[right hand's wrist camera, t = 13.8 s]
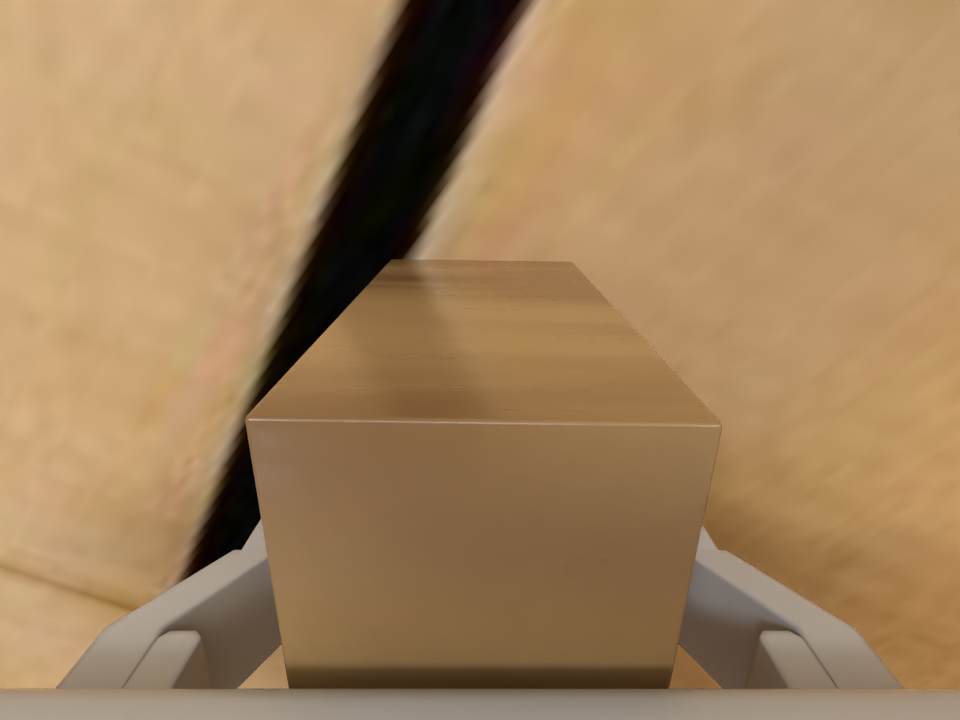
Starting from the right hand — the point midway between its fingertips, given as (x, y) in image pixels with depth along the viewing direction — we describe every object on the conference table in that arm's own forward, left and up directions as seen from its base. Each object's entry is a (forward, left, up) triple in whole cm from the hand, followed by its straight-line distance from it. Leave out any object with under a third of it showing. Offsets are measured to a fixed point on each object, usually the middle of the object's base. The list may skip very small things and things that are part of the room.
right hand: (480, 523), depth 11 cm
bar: (0, +8, -4) cm, 9 cm away
